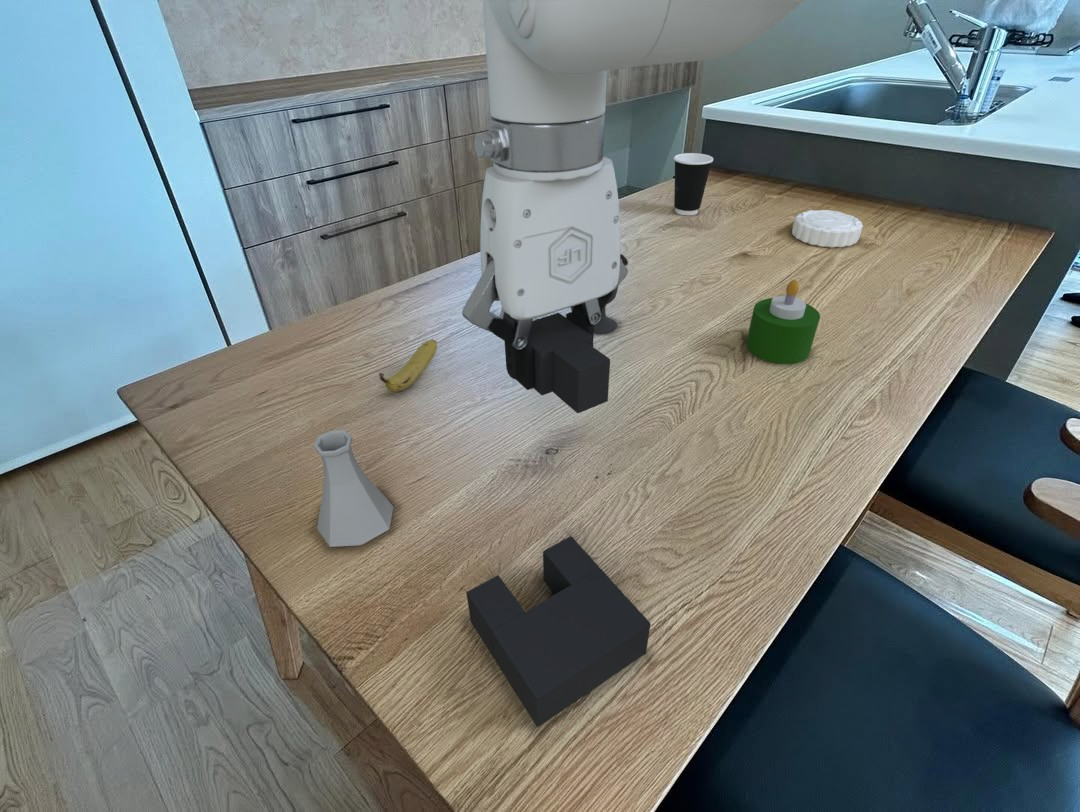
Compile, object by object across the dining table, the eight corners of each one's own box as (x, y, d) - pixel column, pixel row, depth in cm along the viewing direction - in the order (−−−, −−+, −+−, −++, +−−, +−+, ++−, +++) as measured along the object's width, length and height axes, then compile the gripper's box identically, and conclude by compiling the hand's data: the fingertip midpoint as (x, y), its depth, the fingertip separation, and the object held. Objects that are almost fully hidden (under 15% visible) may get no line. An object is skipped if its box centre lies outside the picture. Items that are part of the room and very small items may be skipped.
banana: (431, 361, 79) (427, 335, 77) (444, 366, 78) (441, 340, 76) (377, 399, 73) (371, 372, 70) (392, 404, 72) (386, 377, 69)
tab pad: (511, 368, 51) (508, 328, 49) (558, 351, 53) (558, 312, 51) (567, 418, 45) (567, 375, 43) (618, 397, 47) (621, 355, 45)
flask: (401, 535, 55) (381, 455, 49) (321, 559, 53) (291, 479, 47) (387, 485, 60) (368, 407, 54) (314, 505, 58) (286, 427, 52)
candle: (792, 371, 76) (812, 301, 70) (734, 348, 81) (749, 281, 75) (819, 346, 81) (840, 279, 75) (763, 326, 85) (778, 261, 79)
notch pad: (470, 621, 48) (465, 591, 45) (570, 565, 52) (571, 535, 49) (537, 728, 41) (536, 699, 38) (646, 653, 45) (651, 623, 43)
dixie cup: (713, 213, 125) (721, 158, 118) (685, 220, 122) (692, 165, 115) (687, 203, 130) (694, 150, 124) (660, 210, 127) (665, 156, 121)
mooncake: (848, 226, 117) (854, 208, 115) (866, 249, 108) (872, 230, 105) (786, 224, 119) (790, 206, 117) (798, 246, 109) (803, 228, 107)
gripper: (457, 177, 33) (483, 428, 44) (681, 135, 40) (655, 360, 51) (407, 151, 38) (441, 382, 49) (613, 119, 46) (603, 326, 56)
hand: (550, 369), depth 50 cm, fingers closed on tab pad, 5 cm apart
